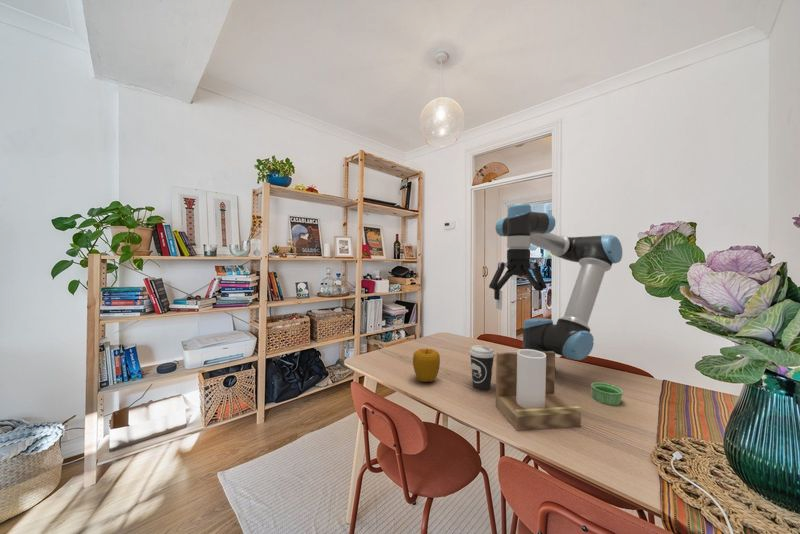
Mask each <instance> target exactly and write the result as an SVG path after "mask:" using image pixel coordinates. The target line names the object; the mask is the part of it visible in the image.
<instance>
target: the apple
mask: <svg viewBox="0 0 800 534" xmlns="http://www.w3.org/2000/svg"><path fill="white" fill-rule="evenodd" d="M412 356H413V357H412V365H413V370H414V373H415V377H416V378H417V380H418V381H420V382H423V383H425V382H426V383H430V382H434V381H435V380H436V379H437V376H438V375H439V371H440V365H441V356H440V353H439V352H438V350H436V349H433V348H420V349H418V350H416V351H414V352H413V355H412Z"/></svg>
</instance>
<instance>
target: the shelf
mask: <svg viewBox="0 0 800 534" xmlns="http://www.w3.org/2000/svg"><path fill="white" fill-rule="evenodd" d="M540 352H543V353H545V354H546V389H545V408H537V409H525V408H523V407H521V406H519V405H518V404H517V402H516V387H517V351H515V352H513V351H512V352H496V359H495V360H496V369H495V370H496V371H495V372H496V373H495V407H496V408H497V410H498V411H499V412H500V413H501V414H502V415H503V417H505V419H506V420H507V421H508V422H509V423H510V424H511V426H512V427H513V428H514V429H515V431H527V430H528V431H531V430H542V429H544V430H545V429H559V428H573V427H582V407H581V406H579V405H574V406H573V405H571V404H569V402H567V401H566V400H564V399H563V398H561V397H560V396H558V395H557V394H556V393H555V388H556V387H555V382H556V381H555V380H556V375H555V367H556V354H555V352H553V351H540Z"/></svg>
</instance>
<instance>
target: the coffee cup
mask: <svg viewBox="0 0 800 534" xmlns="http://www.w3.org/2000/svg"><path fill="white" fill-rule="evenodd" d="M468 354H469V355H470V364H471V365H470V367H471V377H472V378H471V380H472V381H471V382H472V388H473V389H475V390H477V391H481V392H487V391H490V390H491V384H492V375H493V367H494V357H495V356H496V354H495V351H494V349H493V348H492V347H490V346H487V345H482V344H481V345H479V344H477V345H473V346H471V347H470V349H469V351H468Z"/></svg>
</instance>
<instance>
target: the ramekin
mask: <svg viewBox="0 0 800 534" xmlns="http://www.w3.org/2000/svg"><path fill="white" fill-rule="evenodd" d="M590 387H591V395H592V398H593V399H594V400H595V401H597V402H599V403H601V404H603V405H609V406H618V405H620V404H621V403H622V402H621V401H622V395H623V392H624V391H623V390H622V389H621V388H620V387H618V386H616V385H614V384H611V383H607V382H600V381H599V382H598V381H597V382H592V383H591V385H590Z"/></svg>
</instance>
